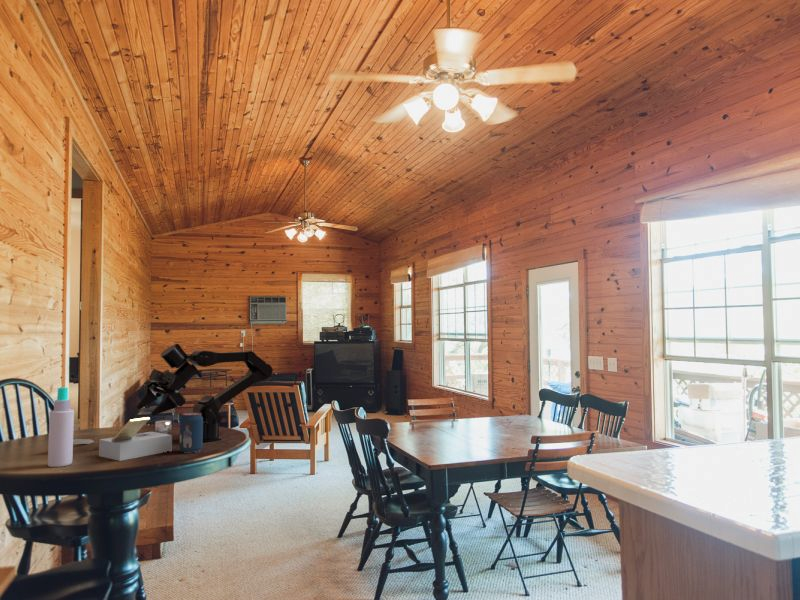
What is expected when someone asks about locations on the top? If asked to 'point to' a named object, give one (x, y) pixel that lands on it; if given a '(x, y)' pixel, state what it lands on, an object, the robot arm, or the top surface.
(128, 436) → the plate
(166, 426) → the steel pin
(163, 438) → the block
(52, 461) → the spray bottle
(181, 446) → the soda can
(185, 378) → the robot arm
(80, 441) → the caliper
